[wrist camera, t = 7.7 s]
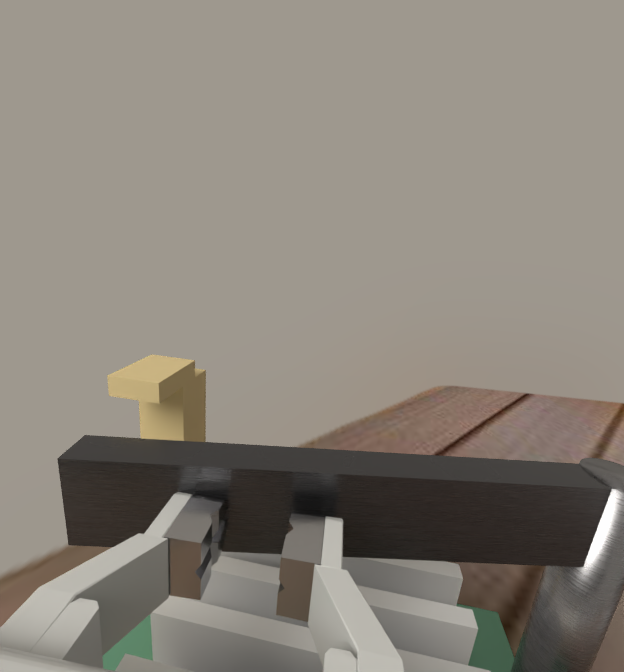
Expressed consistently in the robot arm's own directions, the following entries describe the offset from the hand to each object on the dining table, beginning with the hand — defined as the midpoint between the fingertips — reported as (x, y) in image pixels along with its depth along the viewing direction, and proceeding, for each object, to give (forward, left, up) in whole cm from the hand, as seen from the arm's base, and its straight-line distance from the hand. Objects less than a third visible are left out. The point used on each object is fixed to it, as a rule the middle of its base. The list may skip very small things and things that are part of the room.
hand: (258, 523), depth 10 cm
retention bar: (-3, -1, -13) cm, 13 cm away
